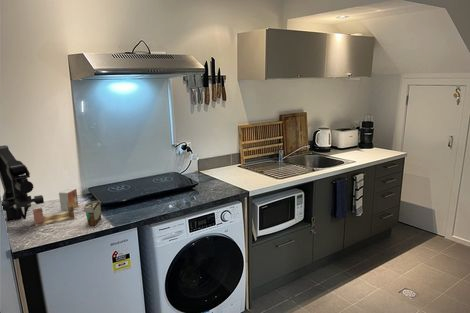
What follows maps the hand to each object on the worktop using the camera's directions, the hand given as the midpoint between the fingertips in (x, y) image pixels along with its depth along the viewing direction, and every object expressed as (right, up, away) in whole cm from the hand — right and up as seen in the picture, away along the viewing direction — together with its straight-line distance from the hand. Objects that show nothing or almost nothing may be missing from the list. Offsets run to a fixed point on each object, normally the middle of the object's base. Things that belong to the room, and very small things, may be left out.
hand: (24, 218), depth 171 cm
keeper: (+5, -2, +4) cm, 7 cm away
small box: (+11, +1, +25) cm, 27 cm away
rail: (+11, -2, +8) cm, 14 cm away
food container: (+33, -3, +3) cm, 33 cm away
